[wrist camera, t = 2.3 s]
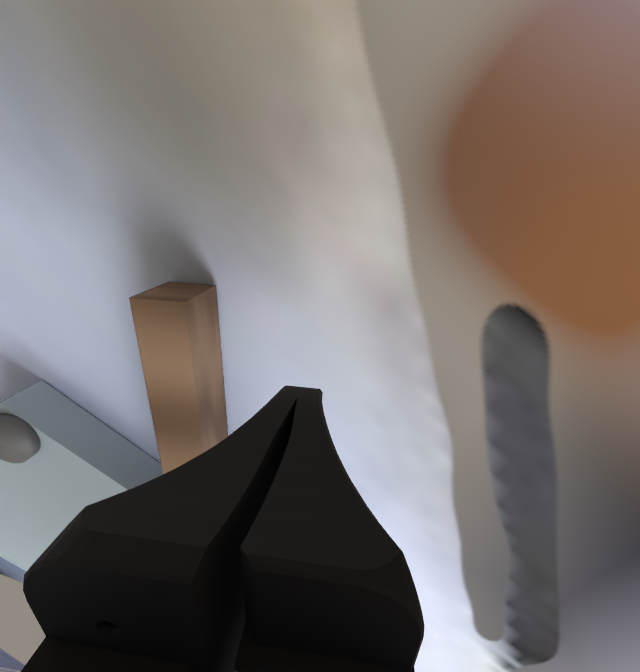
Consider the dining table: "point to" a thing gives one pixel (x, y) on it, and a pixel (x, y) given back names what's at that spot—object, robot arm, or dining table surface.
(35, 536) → the grey flat block
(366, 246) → the dining table surface
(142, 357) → the folding leg
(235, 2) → the dining table surface
